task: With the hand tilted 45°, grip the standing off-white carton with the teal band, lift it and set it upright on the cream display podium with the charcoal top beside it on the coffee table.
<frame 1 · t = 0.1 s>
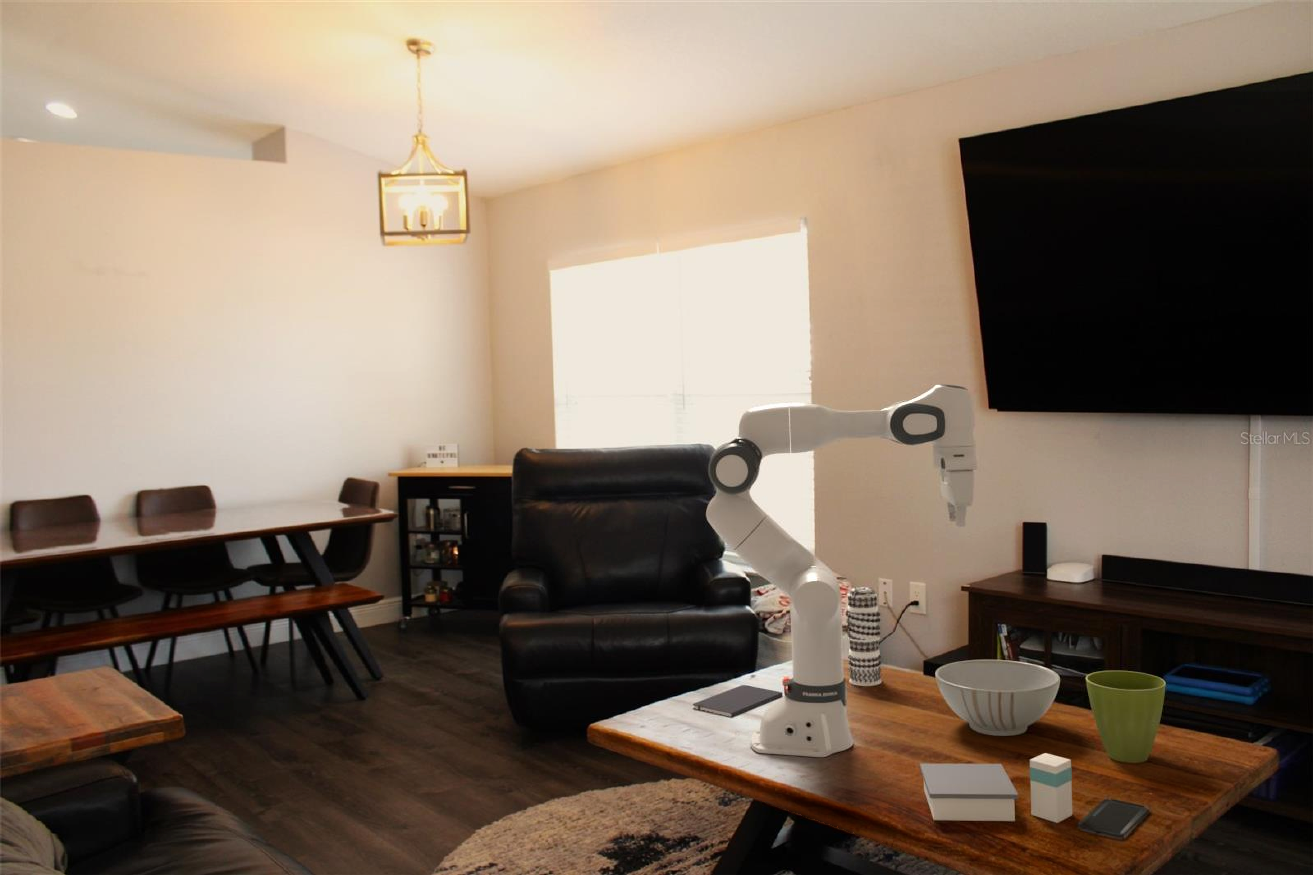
hand: (956, 523, 221), 48 cm above the table, tool pointing down, fingers open, 8 cm apart
flower pot: (1127, 757, 211), on the table
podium: (967, 805, 190), on the table
carton: (1051, 814, 184), on the table
notebook: (737, 705, 261), on the table
decorative candle: (865, 682, 274), on the table
phone: (1113, 823, 181), on the table
decorative bowl: (998, 728, 233), on the table
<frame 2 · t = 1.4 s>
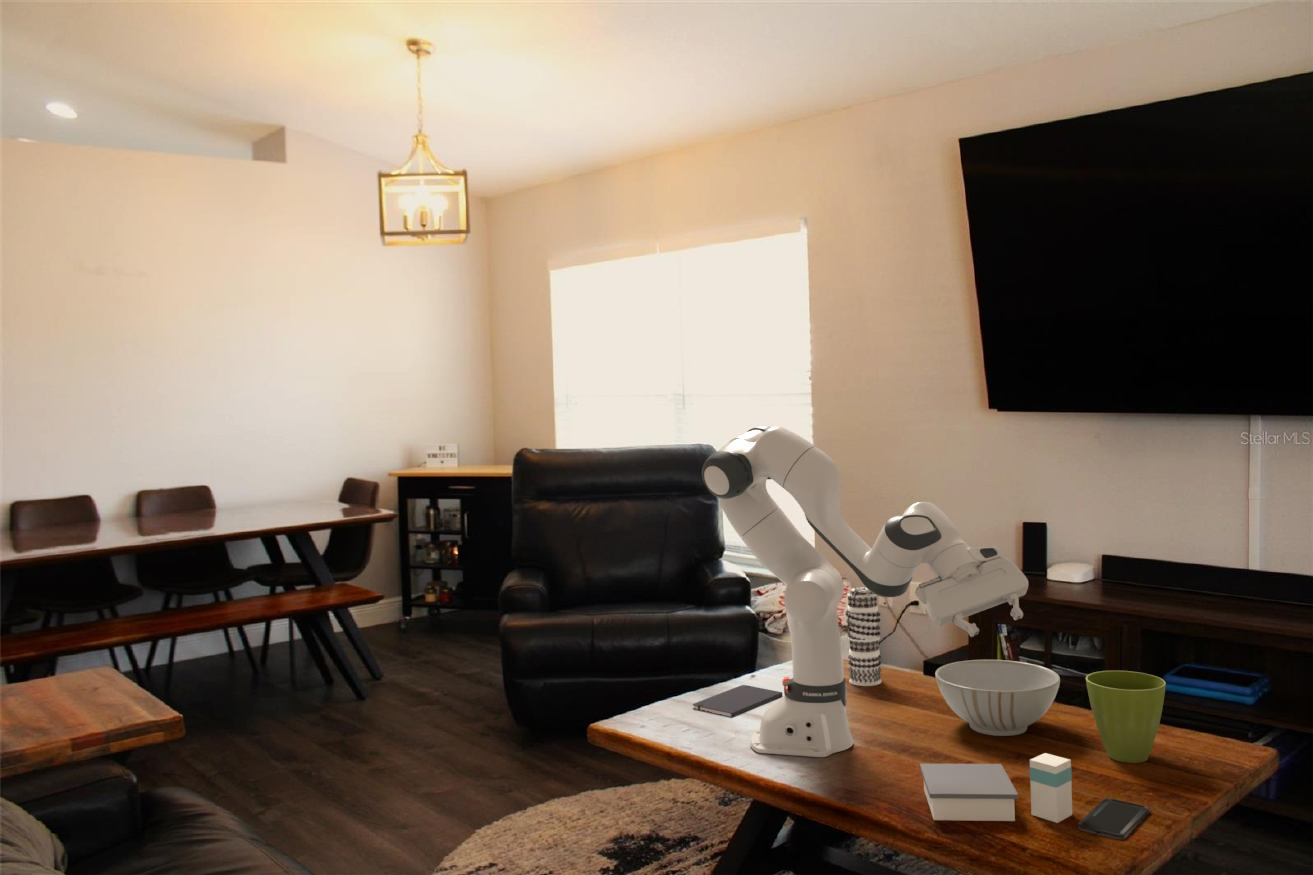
hand: (997, 625, 193), 32 cm above the table, tool tilted 50°, fingers open, 8 cm apart
nothing on the table moved.
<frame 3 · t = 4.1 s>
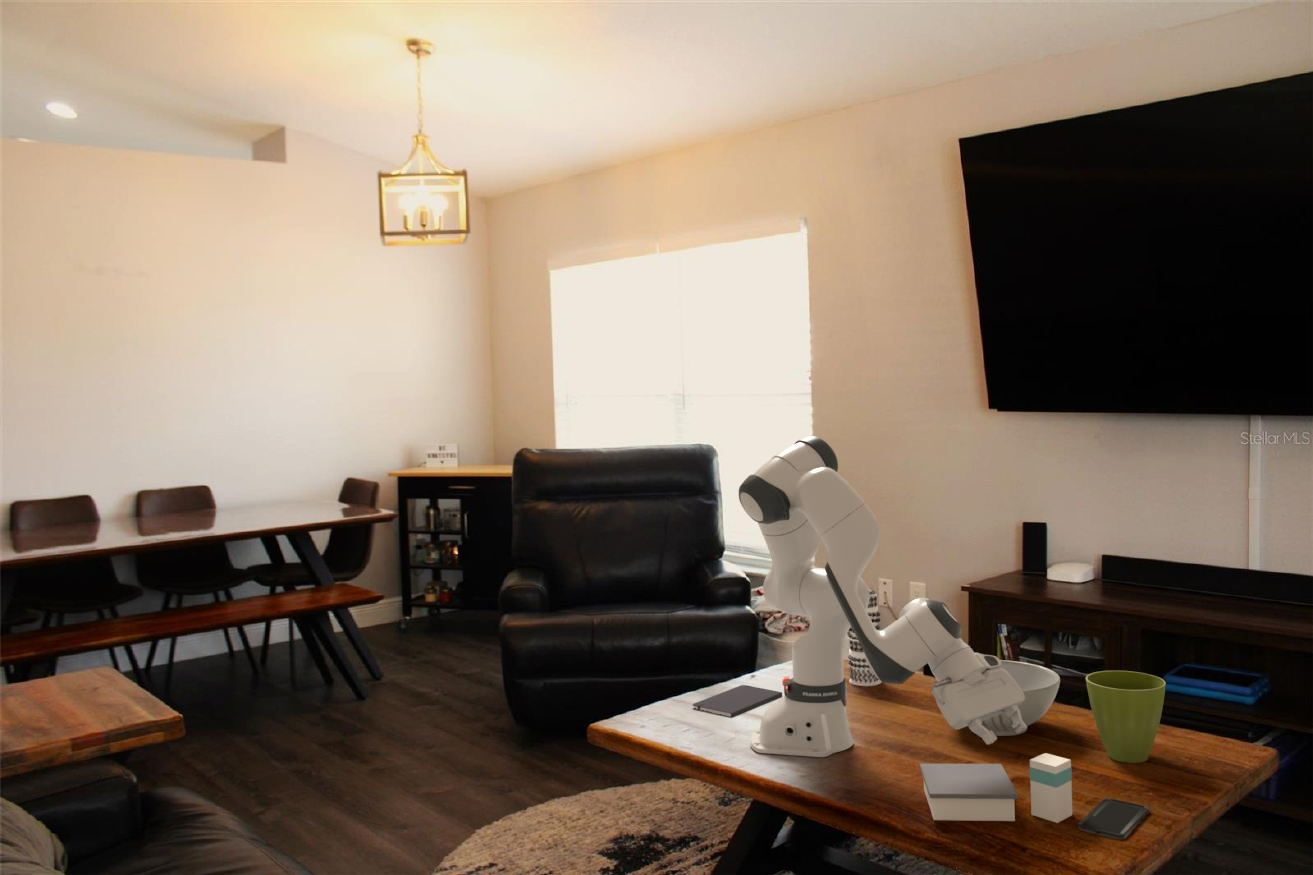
hand: (1007, 736, 189), 13 cm above the table, tool tilted 45°, fingers open, 8 cm apart
nothing on the table moved.
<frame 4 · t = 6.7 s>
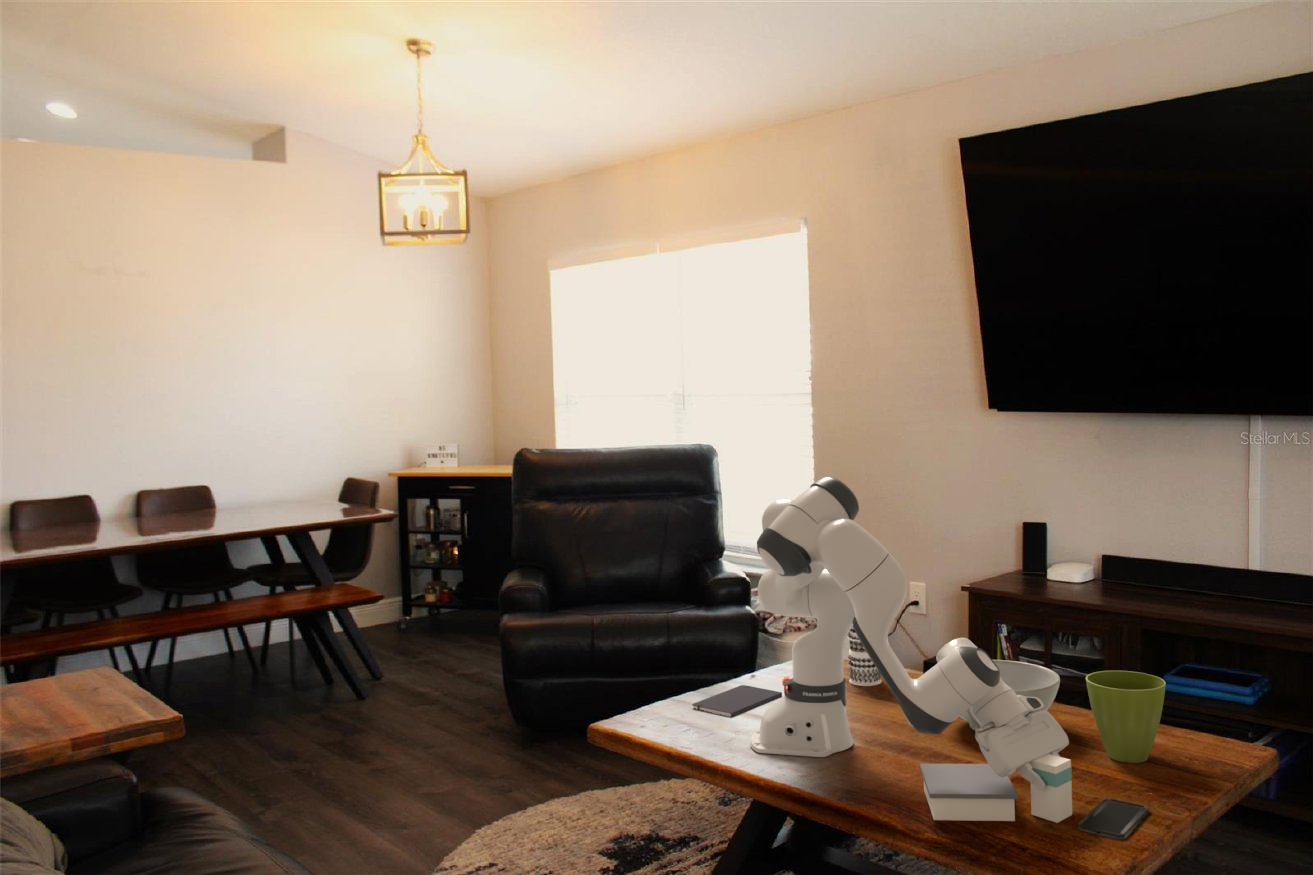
hand: (1054, 783, 184), 6 cm above the table, tool tilted 45°, fingers closed on carton, 5 cm apart
carton: (1051, 814, 184), on the table, touching gripper
everything else where it was.
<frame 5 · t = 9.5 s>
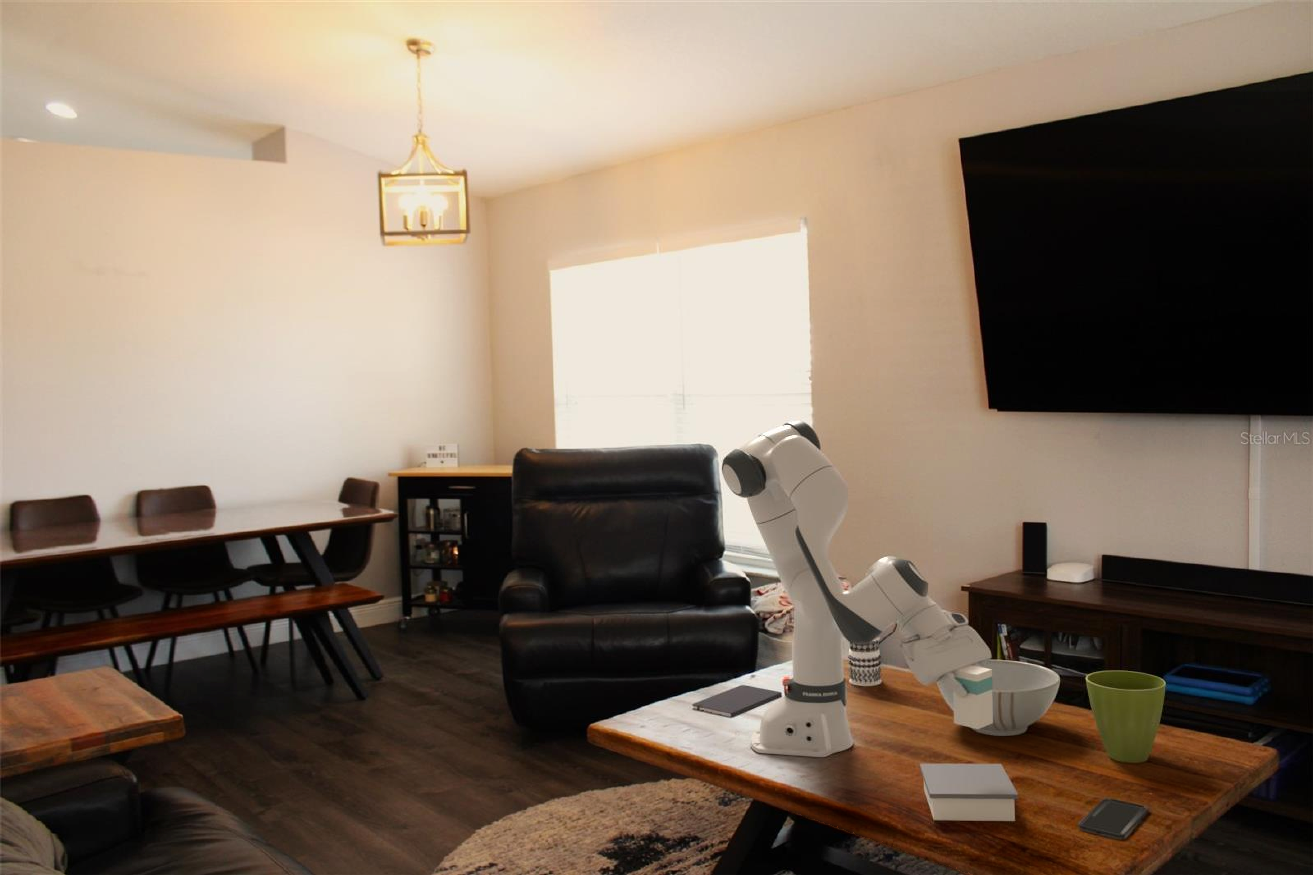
hand: (975, 692, 189), 21 cm above the table, tool tilted 45°, fingers closed on carton, 5 cm apart
carton: (973, 723, 190), point 15 cm above the table, touching gripper
everything else where it was.
when the fingers open (12 cm above the table, at t = 12.3 s): carton drops 1 cm, resting on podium.
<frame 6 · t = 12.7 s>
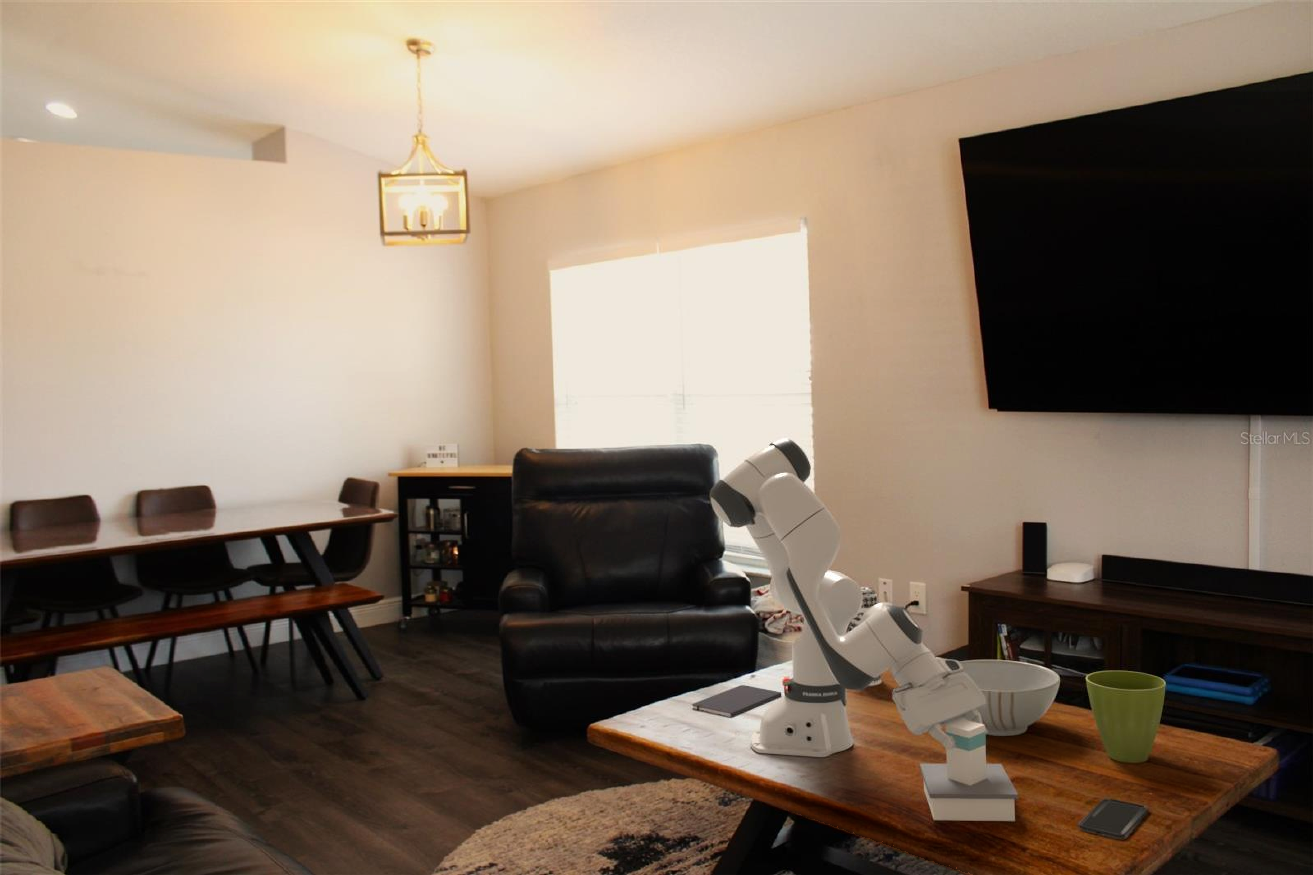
hand: (968, 741, 189), 12 cm above the table, tool tilted 45°, fingers open, 8 cm apart
carton: (966, 778, 190), point 5 cm above the table, touching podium
everything else where it was.
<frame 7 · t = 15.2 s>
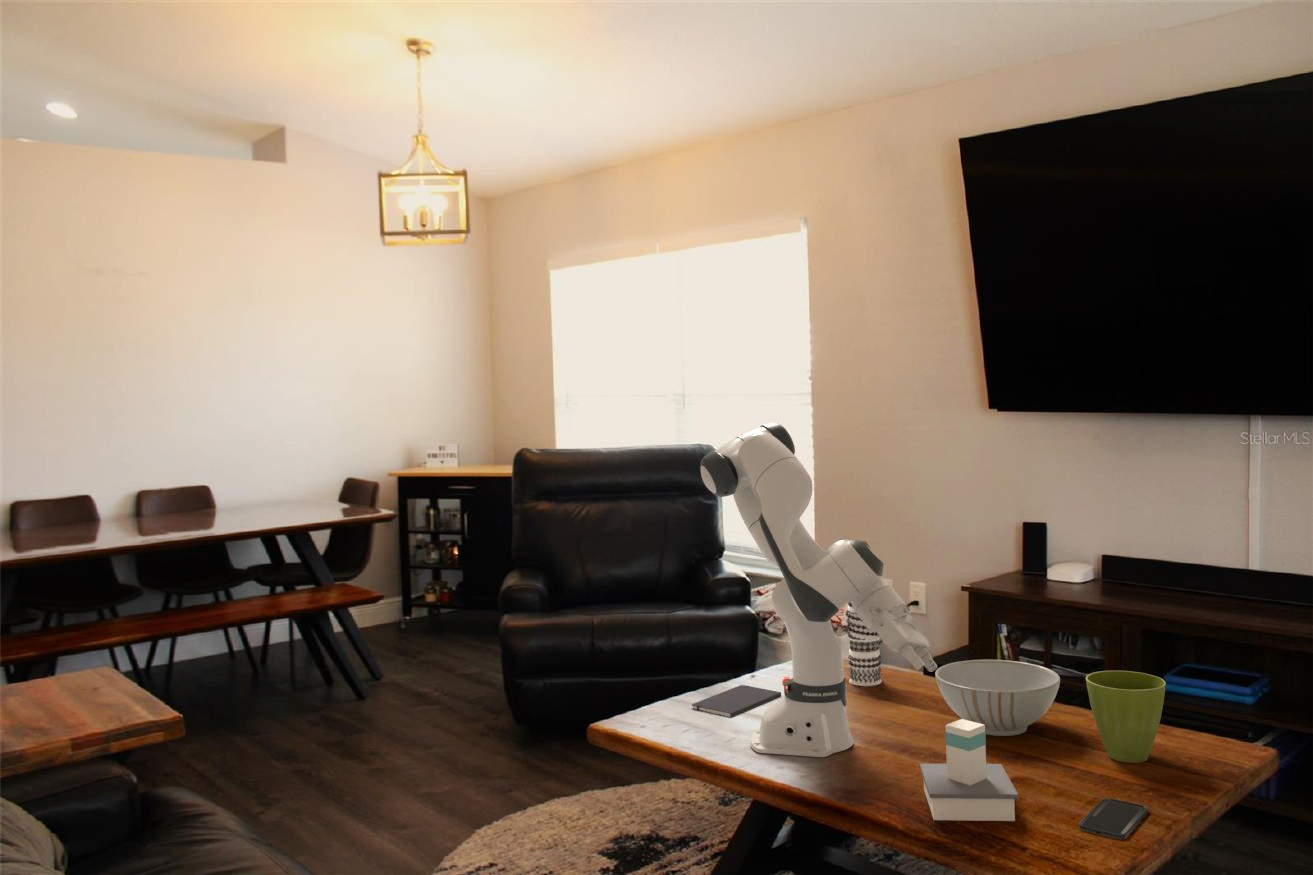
hand: (927, 668, 196), 24 cm above the table, tool tilted 45°, fingers open, 8 cm apart
nothing on the table moved.
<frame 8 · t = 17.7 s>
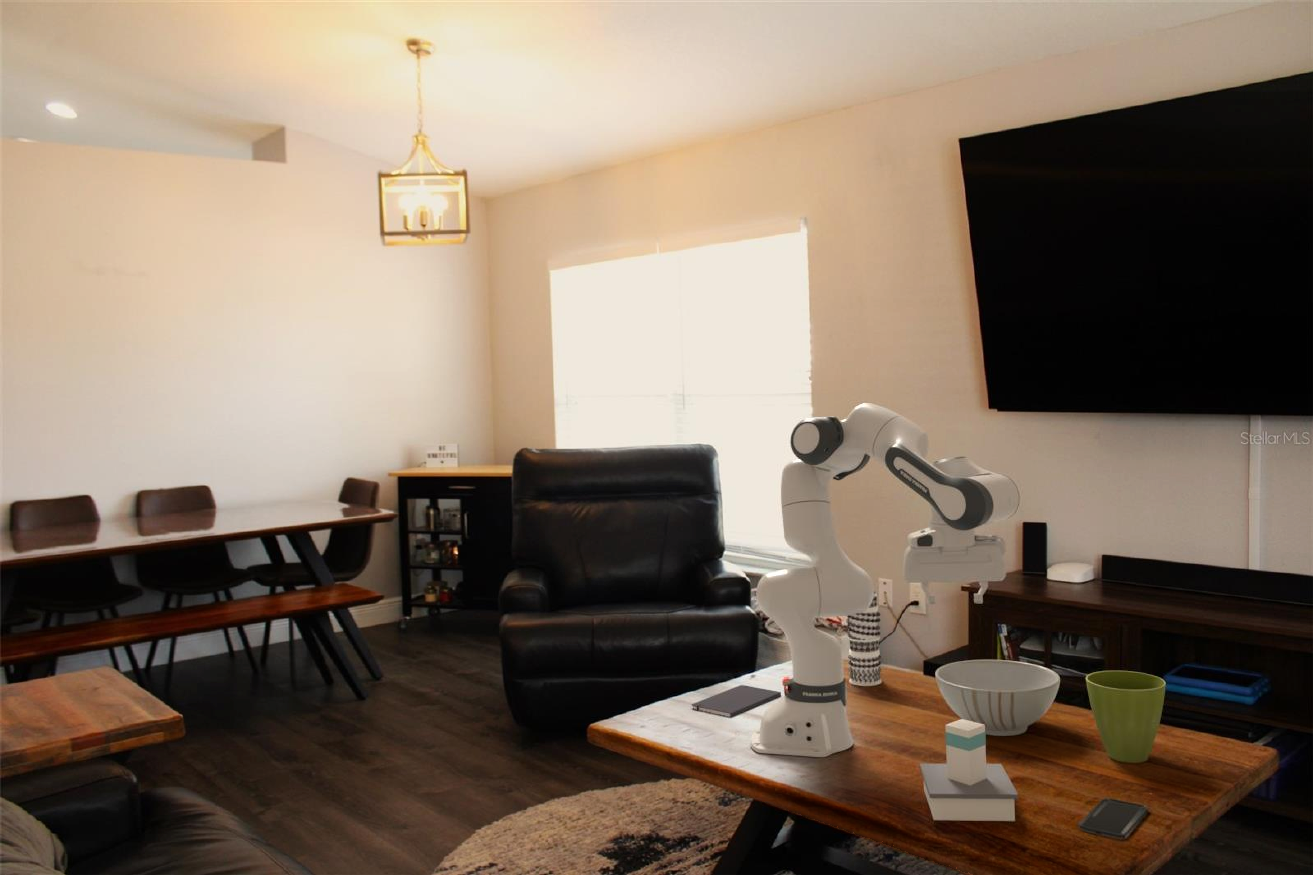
hand: (954, 603, 210), 33 cm above the table, tool pointing down, fingers open, 8 cm apart
nothing on the table moved.
at the end: carton inside the target area on the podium (0.0 cm from its centre), point 5.0 cm above the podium's base; carton tilted 0°; the gripper is holding nothing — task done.
